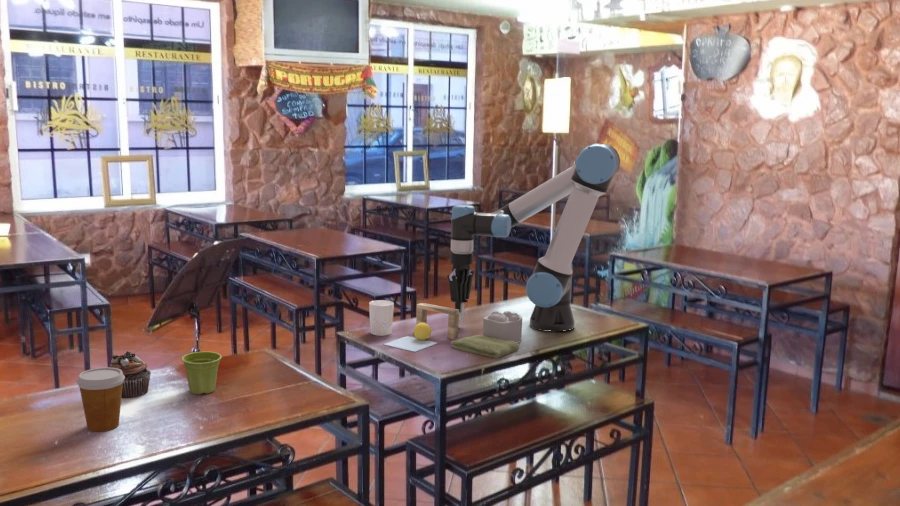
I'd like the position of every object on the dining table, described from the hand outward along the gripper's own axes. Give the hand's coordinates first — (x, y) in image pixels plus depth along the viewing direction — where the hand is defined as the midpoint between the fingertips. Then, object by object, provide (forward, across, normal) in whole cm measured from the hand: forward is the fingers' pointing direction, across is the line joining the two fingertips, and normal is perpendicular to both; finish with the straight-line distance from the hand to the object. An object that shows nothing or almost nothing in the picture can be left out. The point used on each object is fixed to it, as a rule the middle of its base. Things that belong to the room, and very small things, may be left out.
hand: (459, 321), depth 262 cm
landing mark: (+2, +27, 0) cm, 27 cm away
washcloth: (+3, +16, +20) cm, 26 cm away
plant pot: (+2, +93, -15) cm, 94 cm away
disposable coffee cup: (+2, +121, -13) cm, 122 cm away
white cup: (+2, +23, -15) cm, 28 cm away
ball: (-1, +21, 0) cm, 21 cm away
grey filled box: (+2, +3, +19) cm, 20 cm away
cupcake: (+2, +105, -27) cm, 108 cm away
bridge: (+2, +13, 0) cm, 13 cm away
